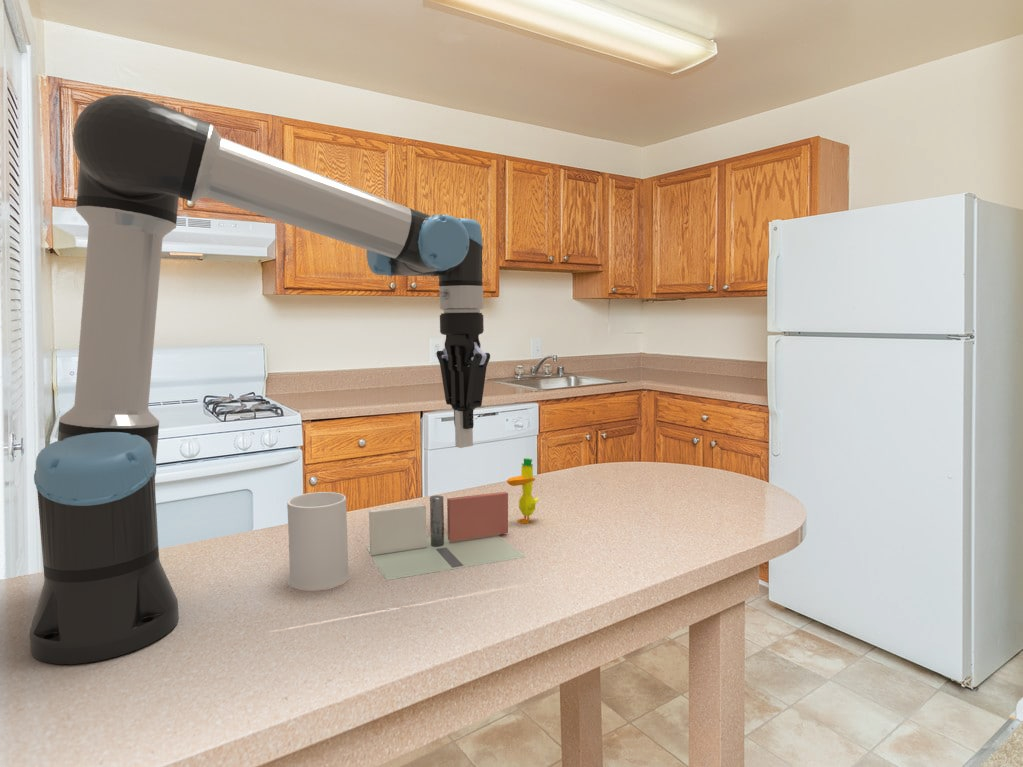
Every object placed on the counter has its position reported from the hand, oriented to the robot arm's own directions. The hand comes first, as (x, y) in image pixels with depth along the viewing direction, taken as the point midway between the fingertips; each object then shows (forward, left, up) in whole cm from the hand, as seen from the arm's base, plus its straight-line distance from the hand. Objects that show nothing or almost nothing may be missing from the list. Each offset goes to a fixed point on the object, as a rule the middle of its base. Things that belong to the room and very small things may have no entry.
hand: (464, 446), depth 114 cm
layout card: (-7, -10, -15) cm, 19 cm away
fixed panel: (-14, -6, -15) cm, 21 cm away
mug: (-27, -11, -15) cm, 33 cm away
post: (-7, -6, -15) cm, 18 cm away
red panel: (0, -6, -14) cm, 16 cm away
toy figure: (+11, -1, -15) cm, 19 cm away
